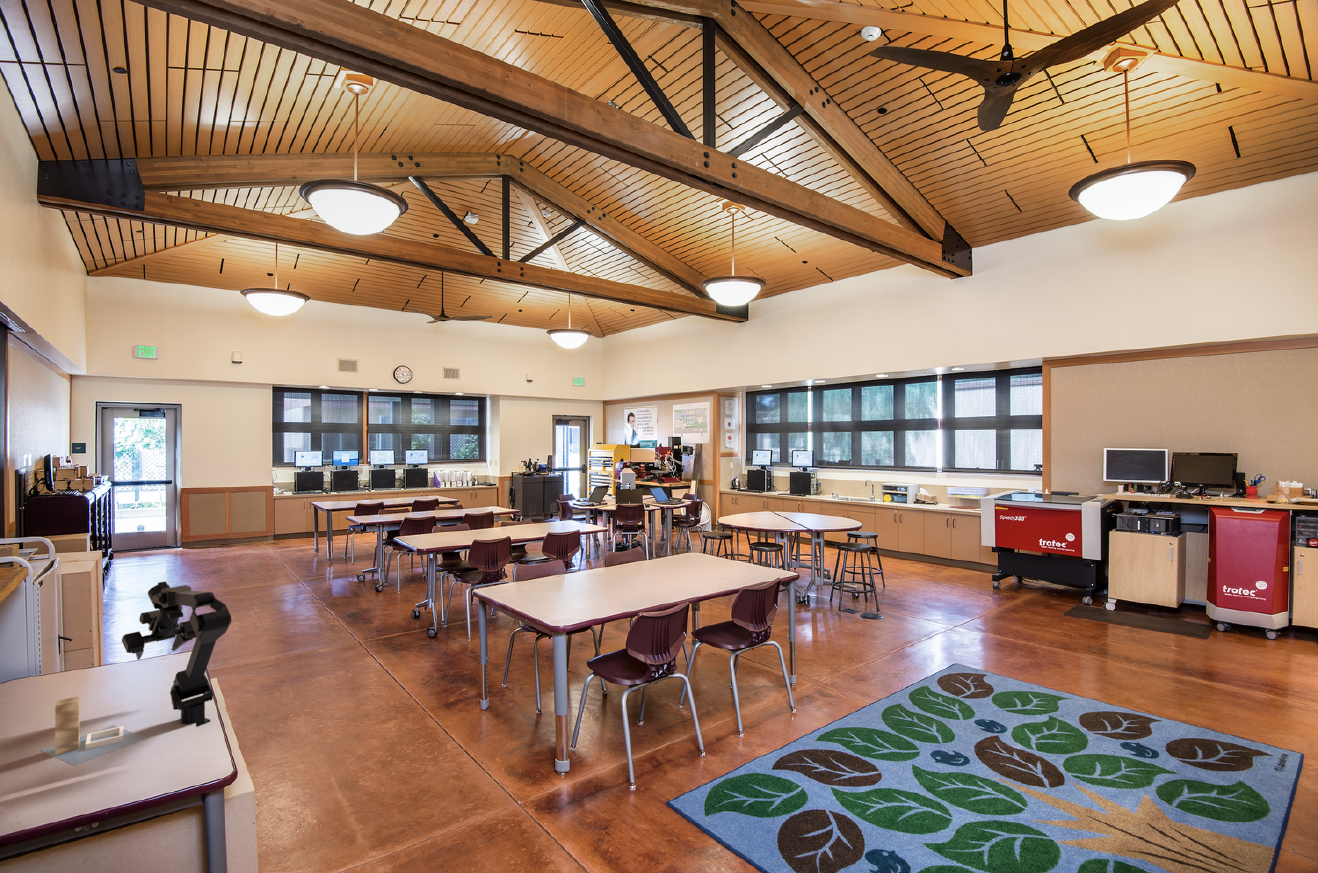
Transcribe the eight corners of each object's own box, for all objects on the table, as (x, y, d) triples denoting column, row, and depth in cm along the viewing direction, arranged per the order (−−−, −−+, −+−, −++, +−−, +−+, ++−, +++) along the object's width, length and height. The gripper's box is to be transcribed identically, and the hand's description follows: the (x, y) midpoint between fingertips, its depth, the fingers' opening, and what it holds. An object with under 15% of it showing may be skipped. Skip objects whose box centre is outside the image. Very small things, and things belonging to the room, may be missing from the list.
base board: (147, 742, 172) (147, 738, 172) (74, 770, 158) (74, 765, 158) (113, 729, 180) (113, 725, 180) (40, 755, 166) (40, 750, 166)
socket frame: (123, 731, 177) (123, 725, 177) (122, 741, 171) (122, 735, 171) (87, 739, 172) (87, 734, 172) (85, 750, 166) (85, 744, 166)
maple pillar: (79, 743, 170) (79, 696, 170) (78, 749, 166) (78, 701, 166) (57, 748, 167) (57, 700, 167) (55, 755, 163) (55, 706, 163)
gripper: (193, 595, 205) (181, 629, 209) (121, 608, 189) (110, 644, 194) (205, 618, 200) (193, 652, 205) (133, 634, 184) (121, 670, 189)
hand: (155, 654), depth 198 cm, fingers open, 9 cm apart
